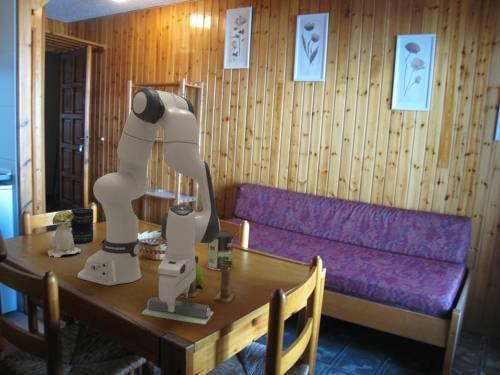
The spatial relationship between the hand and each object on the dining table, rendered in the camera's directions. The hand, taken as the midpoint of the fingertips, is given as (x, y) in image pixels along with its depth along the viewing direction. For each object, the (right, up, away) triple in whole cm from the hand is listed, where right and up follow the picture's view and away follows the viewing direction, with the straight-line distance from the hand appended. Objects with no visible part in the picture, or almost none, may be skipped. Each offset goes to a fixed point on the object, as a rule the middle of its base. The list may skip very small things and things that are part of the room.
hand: (178, 304), depth 123 cm
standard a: (+1, -1, +16) cm, 16 cm away
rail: (0, -3, 0) cm, 3 cm away
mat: (0, -3, 0) cm, 3 cm away
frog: (-57, +7, +50) cm, 77 cm away
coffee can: (+9, +2, +45) cm, 46 cm away
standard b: (+13, -2, +14) cm, 19 cm away
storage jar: (-57, +10, +69) cm, 90 cm away
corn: (-3, 0, +26) cm, 26 cm away
